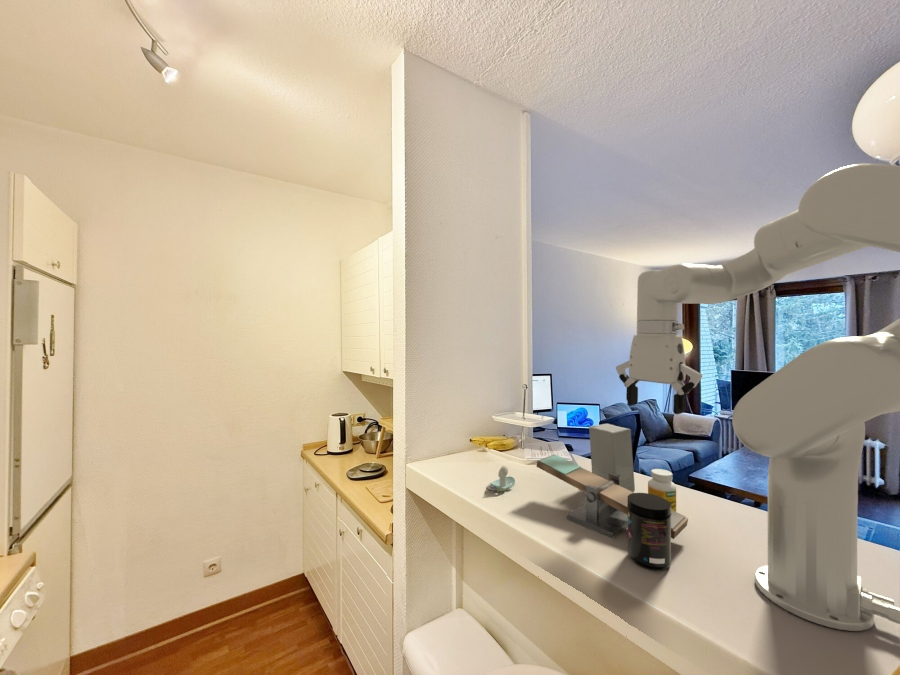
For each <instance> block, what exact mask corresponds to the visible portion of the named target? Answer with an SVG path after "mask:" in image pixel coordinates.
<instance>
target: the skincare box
mask: <svg viewBox="0 0 900 675" xmlns="http://www.w3.org/2000/svg"><path fill="white" fill-rule="evenodd" d="M588 429H589V430H588V431H589V444H590V446H589V447H590V459H591V460H590V461H591V462H590V463H591V472H592V473H594V474H596V475H598V476H600V477H602V478H604V479H606V480H609V473H613V474H617V475H620V476H621V487H623V488H625V489H627V490H630V491H632V492H634V493H635V490H636V487H635V474H634V472H635V470H634V458H633V444H632V430H631V429H630V428H626V427H621V426H617V425H615V424H611V423H602V424H596V425H591V426H589V427H588Z"/></svg>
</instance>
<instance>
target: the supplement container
mask: <svg viewBox="0 0 900 675" xmlns="http://www.w3.org/2000/svg"><path fill="white" fill-rule="evenodd" d="M627 507H628V527H627V553H628V556H629V558H630V560H632V562H634V563H635V564H636V565H638V566H640V567H641V568H644V569H647V570H651V571H664V570H666V569H669V568H670V566H671V565H672V538H671V504H670V502H669V501H668V500H666V499H664V498H662V497H660V496H657V495H653V494H648V492H634V493H632V494H630V495H628V504H627Z"/></svg>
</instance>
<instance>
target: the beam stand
mask: <svg viewBox="0 0 900 675" xmlns="http://www.w3.org/2000/svg"><path fill="white" fill-rule="evenodd" d="M610 480H615V481H616V482H617V485H619V486H621V476H620V475H617V474H613V473H609V481H610ZM566 520H569V521H571V522H573V523H575V524H578V525H581V526H582V527H585V528H588V529H590V530H593V531H595V532H597V533H600V534H602V535H605V536H607V537H609V538H612V539H613V538H615V537H616V536H618V535H619V534H620V533H621V532H623V531H624V530H625V529H626V528H628V515H627V514H625V513H623V512H621V511H619V510H618V509H616V508H614V507H612V506H610V505H608V504H606V503H604V502H602V501H600V500H599V488H597V487H594V486H591V485H586V493H585V503H583V504H581V505H580V506H578V507H577V508H575V509H573V510H572V511H570V512H569V513H566Z"/></svg>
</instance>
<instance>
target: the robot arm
mask: <svg viewBox="0 0 900 675" xmlns="http://www.w3.org/2000/svg"><path fill="white" fill-rule="evenodd" d="M753 247H754V248H752V249H751V250H750V251H748V252H747V253H745V254H742V255H741V256H739V257H735V258H733V259H731V260H729V261H726V262H724V263H721V264H719V265H710V264H699V263H698V264H695V263H679V264H678V263H677V264H674V265H671V266H668V267H665V268H663V269H655V270H654V269H653V270H648V271H644V272H641V273H640V274H639V276H638V278H637V295H636V296H637V297H636V298H637V301H636V302H637V303H636V304H637V305H636V334H634V335H633V337H632V341H631V345H630V352H629V360H628V361H625V362H623V363H620V364H619V365H618V364H617V365H616V366H615V370H616V372H617V374H618V375H619V376H618V377H619V380H620V381H621V382H622V383H623V386H624V387H626V392H625V393H626V402H627V403H626V404H627V406H629V407H630V406H634V405H637V404H638V401H639V387H638V386H636V385H637V384H638V383H640V382H648V383H649V382H650V383H656V384H665V385H670V386H671V387H672V389H674V391H675V392H676V393H675V394H674V395H673V414H674V415H680V414H683V413H684V412H685V411H686V409H687V397H688V394H689V393H690V392H691V391H693V390H694V389H696V387H697V385H698V384H699V383H700V382H701V379H702V378H703V374H702V373H701V372H698V371H697V370H695V369H693V368H692V367H690V366H687V365H686V356H685V348H684V347H685V346H684V342H683V338H682V336H681V335H677V334H678V333H679V331H684V330H685V325H684V323H679V320H678V304H690V305H691V304H697V305H698V304H699V305H700V304H701V305H702V304H703V305H717V304H722V303H726V302H729V301H732V300H736V299H738V298H741V297H745V296H748V295H751V294H754V293H757V292H759V291H762V290H764V289H765V288H768V287H769V286H771V285H773V284H774V283H777V282H778V281H781V280H782V279H784V278H785V276H788V275H789V274H792V273H795V272H798V271H801V270H803V269H807V268H810V267H811V266H812V267H813V266H815V265H817V264H821V263H824V262H826V261H829V260H832V259H835V258H838V257H840V256H841V257H842V256H843V255H846V254H849V253H852V252H855V251H859V250H861V249H863V248H867V247H873V248H876V249H877V248H878V249H882V250H886V251H891V252H896V253H897V252H898V253H900V165H895V164H894V165H893V164H883V163H874V162H873V163H869V162H867V163H856V164H855V163H854V164H851V165H850V164H849V165H847V166H843V167H842V166H841V167H839V168H838V169H835V170H832V171H830V172H828V173H826V174H825V175H822V177H820V178H819V179H817V180H815V181H814V182H813V183H812V184H811V185H810V186H809V187H808V188H807V189H806V191H805V192H804V193H803V196H802V197H801V198H800V201H799V205H798V208H797V210H794V211H792V212H790V213H788V214H786V215H783V216H782V217H779V218H777V219H775V220H773V221H770V222H768V223H766V224H764V225H762V226H761V227H760V228H759V229H757V231H756V232H755V235H754V238H753ZM627 369H628V374H627V372H626V370H627ZM686 376H688V377H689V381H688V382H687V383H686V384H685V383H684V382H685V380H686V378H687V377H686ZM898 412H900V318H898V319H896V320H895V321H893V322H891V323H889V325H887V326H885V327H884V328H882V329H880V330H878V331H876V332H873V333H872V334H868V335H858V336H845V337H836V338H834V339H829V340H826V341H823V342H820V343H818V344H817V345H814V346H812V347H810V348H809V349H807V350H805V351H804V352H802V353H800V354H799V355H798V356H796V357H794V358H793V359H792V360H790V361H788V362H787V363H786V364H785V365H783V366H782V367H781V368H779V369H778V370H776V371H775V372H774V373H773V374H771V375H770V376H768V377H767V378H765V379H764V380H762V381H761V382H760V383H759V384H757V385H756V386H754V387H753V388H752V389H751V390H749V391H748V392H747V393H746V394H744V395H743V396H742V397H741V398H740V399H739V400H738V402H737V403H736V405H735V407H734V408H733V412H732V416H731V417H732V418H731V419H732V420H731V421H732V422H731V424H732V429H733V431H734V434H735V435H736V437H737V438H738V440H739V441H740V442H741V443H742V445H743V446H745V447H746V448H747V449H749V450H750V451H752V452H754V453H757V454H758V455H761V456H764V457H767V458H769V463H768V467H767V565H763V566H760V567H758V568H757V569H756V570H755V572H754V582H755V584H756V586H757V588H758V590H759V591H760V592H761V593H762V594H763V595H764V596H765V597H766V598H768V599H769V600H770V601H772V603H774V604H776V605H777V606H779V607H781V608H782V609H784V610H785V611H787V612H789V613H791V614H793V615H795V616H798V617H800V618H801V619H803V620H805V621H806V620H807V621H809V622H812V623H814V624H816V625H817V624H818V625H821V626H824V627H827V628H831V629H834V630H835V629H837V630H841V631H849V632H862V631H866V630H869V629H870V628H872V627H873V626H874V623H875V615H876V616H879V617H880V618H884V619H886V620H888V621H890V622H892V623H895V624H898V625H900V607H898V606H895V599H894V598H891V597H888V596H884V595H882V594H878V593H874V592H872V591H869V590H868V588H866V587H863V586H862V577H861V575H858V503H859V492H858V491H859V473H860V465H861V460H862V459H861V458H862V453H863V450H864V449H863V448H864V444H865V439H866V424H865V422H867V421H871V419H873V418H876V417H878V416H881V415H885V414H890V413H898Z"/></svg>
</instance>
